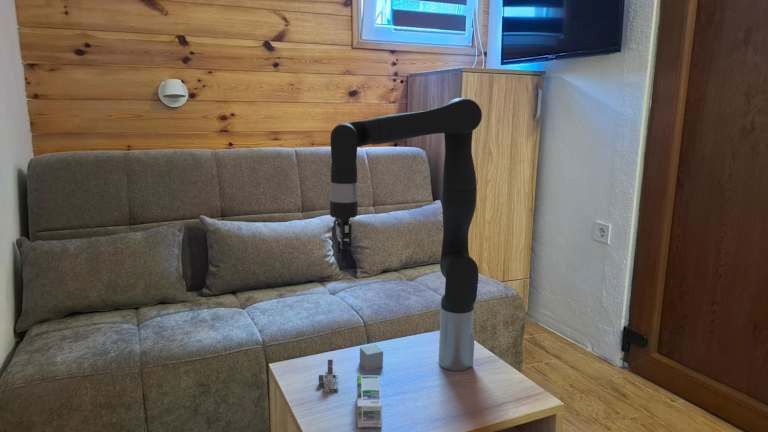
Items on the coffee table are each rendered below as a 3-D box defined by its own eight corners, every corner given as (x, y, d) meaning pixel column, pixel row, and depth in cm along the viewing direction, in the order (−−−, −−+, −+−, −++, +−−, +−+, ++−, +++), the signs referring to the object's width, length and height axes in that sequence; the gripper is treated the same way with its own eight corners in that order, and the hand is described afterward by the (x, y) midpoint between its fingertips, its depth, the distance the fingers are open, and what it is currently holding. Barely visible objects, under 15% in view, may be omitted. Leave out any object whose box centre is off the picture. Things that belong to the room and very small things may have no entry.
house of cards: (306, 376, 147) (306, 350, 146) (338, 376, 148) (338, 350, 147) (304, 394, 139) (304, 366, 137) (338, 393, 139) (338, 366, 138)
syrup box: (379, 374, 137) (382, 404, 123) (379, 395, 138) (382, 428, 124) (357, 375, 137) (357, 405, 122) (357, 396, 138) (357, 429, 123)
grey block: (375, 360, 157) (375, 344, 156) (382, 367, 153) (383, 351, 152) (359, 363, 155) (359, 347, 154) (366, 371, 151) (367, 354, 150)
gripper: (361, 203, 137) (360, 264, 141) (354, 194, 151) (353, 250, 154) (332, 203, 136) (332, 265, 139) (327, 194, 150) (327, 250, 153)
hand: (343, 257), depth 147 cm, fingers open, 8 cm apart
